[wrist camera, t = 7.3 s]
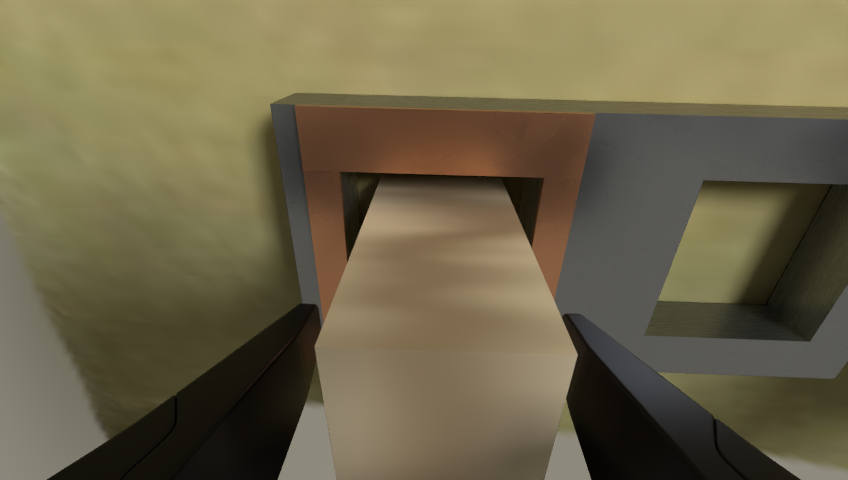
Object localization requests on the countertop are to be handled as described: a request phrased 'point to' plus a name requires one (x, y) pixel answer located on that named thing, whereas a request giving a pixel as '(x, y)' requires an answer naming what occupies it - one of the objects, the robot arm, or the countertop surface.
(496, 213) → the beech peg
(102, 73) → the countertop surface
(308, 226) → the grey board
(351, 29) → the countertop surface
